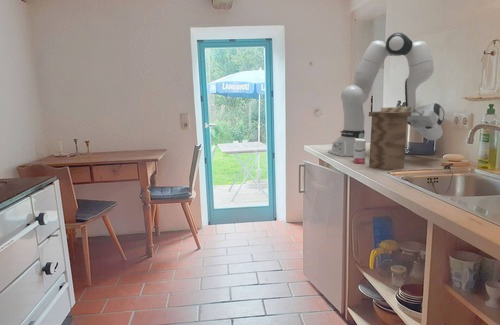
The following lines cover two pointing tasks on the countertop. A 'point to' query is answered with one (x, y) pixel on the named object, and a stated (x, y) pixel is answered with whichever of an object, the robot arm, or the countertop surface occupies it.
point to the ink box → (359, 151)
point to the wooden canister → (388, 139)
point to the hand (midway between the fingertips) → (405, 107)
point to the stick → (396, 109)
